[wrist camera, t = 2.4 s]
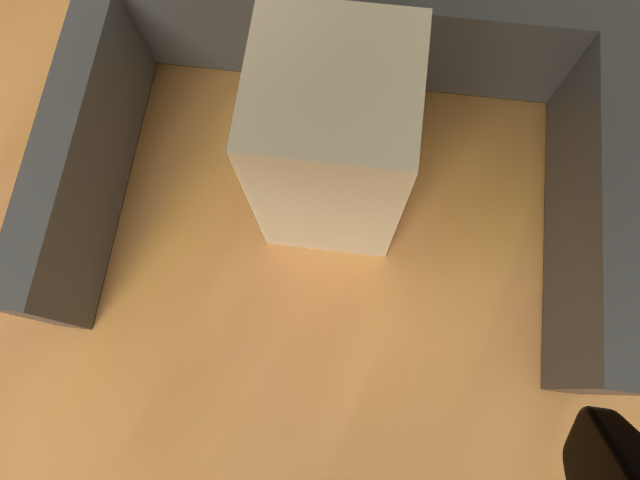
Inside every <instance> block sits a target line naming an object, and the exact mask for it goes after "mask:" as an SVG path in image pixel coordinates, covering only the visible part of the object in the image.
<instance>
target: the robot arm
mask: <svg viewBox="0 0 640 480" xmlns="http://www.w3.org/2000/svg"><path fill="white" fill-rule="evenodd" d="M563 465H564V471H565V477H566V480H640V432H639V431H638V430H637V429H636V428H635V427H634V426H632V425H631V424H630V423H629V422H628V421H627V420H626V419H625V418H624V417H622V416H621V415H620V414H619V413H618V412H616V411H614V410H611V409H606V408H598V407H591V406H586V407H583V408H582V409H581V410H580V411H579V413H578V415H577V417H576V419H575V421H574V424H573V426H572V428H571V430H570V433H569V435H568V437H567V439H566V442H565V444H564V448H563Z"/></svg>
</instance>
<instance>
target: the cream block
mask: <svg viewBox="0 0 640 480" xmlns="http://www.w3.org/2000/svg"><path fill="white" fill-rule="evenodd" d="M432 9H433V8H423V7H412V6H402V5H391V4H380V3H369V2H359V1H348V0H255V3H254V8H253V13H252V19H251V24H250V29H249V34H248V39H247V45H246V50H245V55H244V60H243V65H242V71H241V76H240V81H239V86H238V91H237V96H236V102H235V107H234V112H233V117H232V122H231V128H230V133H229V138H228V143H227V148H226V153H227V156H228V158H229V160H230V162H231V165H232V167H233V169H234V171H235V173H236V176H237V178H238V180H239V182H240V185H241V187H242V189H243V191H244V193H245V196H246V198H247V200H248V202H249V205H250V207H251V209H252V211H253V213H254V216H255V218H256V220H257V222H258V225H259V227H260V229H261V231H262V233H263V236H264V238H265V240H266V242H267V243H270V244H279V245H287V246H295V247H304V248H312V249H320V250H328V251H337V252H345V253H353V254H362V255H370V256H378V257H385V256H386V253H387V251H388V248H389V246H390V243H391V240H392V238H393V235H394V233H395V230H396V228H397V225H398V223H399V220H400V218H401V215H402V213H403V210H404V208H405V205H406V203H407V200H408V198H409V195H410V193H411V190H412V188H413V185H414V183H415V180H416V178H417V175H418V170H419V159H420V147H421V136H422V124H423V113H424V101H425V90H426V78H427V67H428V55H429V44H430V32H431V21H432Z"/></svg>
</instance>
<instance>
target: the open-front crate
mask: <svg viewBox="0 0 640 480" xmlns="http://www.w3.org/2000/svg"><path fill="white" fill-rule="evenodd" d="M348 1H359V2H369V3H380V4H391V5H402V6H412V7H423V8H433V9H432V21H431V32H430V44H429V55H428V67H427V78H426V90H425V91H435V92H445V93H454V94H464V95H474V96H483V97H493V98H503V99H513V100H522V101H532V102H542V103H546V147H545V200H544V253H543V306H542V359H541V389H544V390H552V391H560V392H567V393H575V394H592V395H636V396H640V0H348ZM254 3H255V0H70V4H69V7H68V10H67V14H66V17H65V20H64V23H63V27H62V30H61V33H60V37H59V40H58V43H57V47H56V50H55V53H54V57H53V60H52V63H51V66H50V70H49V73H48V76H47V80H46V83H45V86H44V90H43V93H42V96H41V100H40V103H39V106H38V109H37V113H36V116H35V119H34V123H33V126H32V129H31V133H30V136H29V139H28V143H27V146H26V149H25V153H24V156H23V159H22V162H21V166H20V169H19V172H18V176H17V179H16V182H15V186H14V189H13V192H12V196H11V199H10V202H9V205H8V209H7V212H6V215H5V219H4V222H3V225H2V229H1V232H0V312H2V313H7V314H11V315H15V316H20V317H24V318H28V319H33V320H37V321H41V322H46V323H50V324H54V325H60V326H68V327H75V328H83V329H90V330H92V327H93V323H94V319H95V315H96V311H97V307H98V302H99V298H100V294H101V290H102V286H103V282H104V278H105V274H106V269H107V265H108V261H109V257H110V253H111V249H112V245H113V241H114V236H115V232H116V228H117V224H118V220H119V216H120V212H121V207H122V203H123V199H124V195H125V191H126V187H127V183H128V179H129V174H130V170H131V166H132V162H133V158H134V154H135V150H136V146H137V141H138V137H139V133H140V129H141V125H142V121H143V117H144V112H145V108H146V104H147V100H148V96H149V92H150V88H151V84H152V79H153V75H154V71H155V67H156V63H163V64H172V65H182V66H192V67H202V68H211V69H221V70H231V71H240V72H241V71H242V65H243V60H244V55H245V50H246V45H247V39H248V34H249V29H250V24H251V19H252V13H253V8H254Z"/></svg>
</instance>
